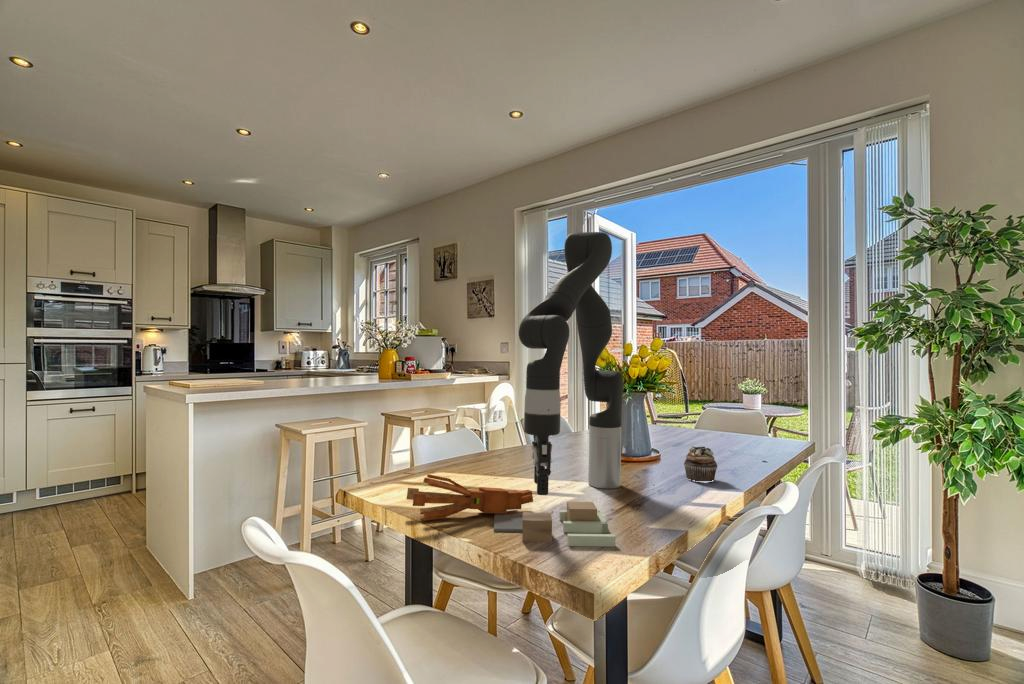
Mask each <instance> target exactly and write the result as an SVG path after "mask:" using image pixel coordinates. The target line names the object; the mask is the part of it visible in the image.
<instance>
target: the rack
mask: <svg viewBox="0 0 1024 684" xmlns="http://www.w3.org/2000/svg"><path fill="white" fill-rule="evenodd" d="M558 512H559V513H558V515H559V516H558V519H559V521H560V522H561V521H562V532H563V534H565V533H567V535H566V536H567V537H566V538H567V539H566V541H567V542H566V544H567V547H616V535H615V533H609V523H608V521H607V520H606V518H605V516H604V515H603V513H602V511H601V510H598V508H597V506H596V505H595V502H593V501H566V509H564V510H563V509H561V510H560V509H559V510H558Z"/></svg>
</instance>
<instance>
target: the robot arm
mask: <svg viewBox="0 0 1024 684" xmlns="http://www.w3.org/2000/svg"><path fill="white" fill-rule="evenodd" d="M564 240H565V241H564V258H565V265H566V268H567V273H566V274H564V275H562V276H561V277H559V278H558V280H556V281H555V283H553V285H552V286H551V288H550V289H549V290H548V292H547V294H546V296H545V298H544V299H543V300H542V301H541V302H539V303H538V304H536V306H535V307H533V308H532V309H531V310H529V312H528V313H527V314H526V315H524V317H523V318H522V320H521V322H520V324H519V327H518V338H519V341H520V343H521V344H522V346H524V347H526V348H528V349H532V350H533V349H542V350H543V349H545V350H546V351H545V353H544V355H543V357H542V358H541V359H536V360H531V361H529V362H527V365H526V376H525V377H526V381H525V382H526V383H525V385H526V386H525V388H526V389H525V395H524V409H523V410H524V411H523V412H524V413H523V414H524V415H523V416H524V417H523V420H524V421H523V432H524V433H525V434H527V435H529V436H533V440H532V441H531V451H532V452H531V456H532V460H533V461H532V463H533V466H534V473H533V474H534V478H533V482H534V483H535V485H536V494H537V495H539V496H548V494H549V477H550V476H551V473H552V470H551V466H552V465H551V464H552V451H553V444H552V443H551V441H549V437H550V436H557V435H559V434H560V432H561V408H562V407H561V405H562V404H561V393H560V391H561V390H560V388H561V387H560V386H561V383H560V382H561V367H562V363H563V360H564V356H565V352H566V349H567V345H568V343H569V338H570V326H569V323H568V320H570V318H571V317H572V316H573V314H574V312H575V317H576V318H575V319H576V326H577V333H578V337H579V338H578V339H579V343H580V351H581V357H582V370H583V385H584V393H585V397H586V398H587V400H588V401H591V402H599V403H609V406H608V408H606V409H605V410H603V411H600V412H599V411H598V412H595V413H593V414H591V415H589V420H588V423H589V425H588V426H589V427H588V428H589V429H588V479H587V480H588V483H587V484H588V486H590V487H593V488H598V489H610V490H611V489H617V488H620V487H621V478H622V477H621V475H622V474H621V469H622V467H621V466H622V463H621V462H622V416H623V415H622V414H623V411H622V410H623V409H622V408H623V394H624V378H623V375H622V373H621V372H620V370H619V371H617V370H600V369H599V370H598V369H597V368H596V367H597V366H596V364H597V362H598V359H599V357H600V356H601V354H602V353H603V351H604V349H605V348H606V347H607V345H608V344H609V342H610V340H611V338H612V335H613V326H612V324H613V323H612V315H611V311H610V308H609V306H608V305H607V303H606V301H605V300H604V299H603V298H602V297H601V296H600V294H599V293H598V292H597V291H596V289H595V288H594V286H593V285H592V284H593V283H594V282H595V281H596V280H597V279H598V278H599V277H600V276H601V274H602V273H603V272H604V271H605V269H606V268H607V266H608V265H609V263H610V261H611V259H612V254H613V253H612V252H613V245H612V244H613V243H612V240H611V238H610V235H608V233H606V232H603V231H601V232H600V231H589V232H588V231H587V232H585V231H584V232H582V231H581V232H578V231H577V232H571V233H569V234H568V235H567V236H566V237H565V239H564Z"/></svg>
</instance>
